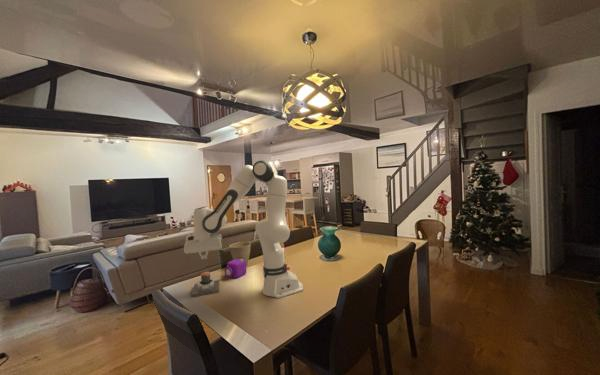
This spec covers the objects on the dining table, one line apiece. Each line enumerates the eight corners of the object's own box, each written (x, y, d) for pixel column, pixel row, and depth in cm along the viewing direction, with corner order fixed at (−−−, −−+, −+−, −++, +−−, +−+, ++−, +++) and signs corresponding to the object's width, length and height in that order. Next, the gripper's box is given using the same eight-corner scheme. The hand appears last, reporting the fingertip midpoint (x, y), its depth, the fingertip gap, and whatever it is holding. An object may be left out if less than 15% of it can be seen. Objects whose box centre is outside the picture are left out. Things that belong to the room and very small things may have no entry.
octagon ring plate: (219, 282, 150) (218, 275, 150) (218, 292, 136) (218, 284, 136) (194, 286, 146) (194, 279, 145) (191, 297, 132) (191, 289, 132)
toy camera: (221, 279, 154) (220, 264, 154) (234, 271, 167) (233, 257, 166) (236, 281, 150) (235, 265, 150) (248, 272, 163) (247, 258, 163)
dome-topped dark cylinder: (210, 284, 144) (210, 271, 143) (210, 287, 139) (209, 274, 139) (202, 285, 142) (201, 272, 142) (201, 289, 138) (200, 275, 137)
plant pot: (248, 261, 186) (246, 240, 186) (255, 266, 174) (253, 244, 173) (228, 265, 179) (227, 244, 178) (234, 271, 166) (232, 248, 165)
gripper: (221, 232, 146) (223, 254, 146) (184, 236, 140) (185, 259, 140) (221, 234, 140) (223, 257, 140) (182, 238, 134) (184, 263, 134)
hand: (204, 258), depth 140 cm, fingers closed
